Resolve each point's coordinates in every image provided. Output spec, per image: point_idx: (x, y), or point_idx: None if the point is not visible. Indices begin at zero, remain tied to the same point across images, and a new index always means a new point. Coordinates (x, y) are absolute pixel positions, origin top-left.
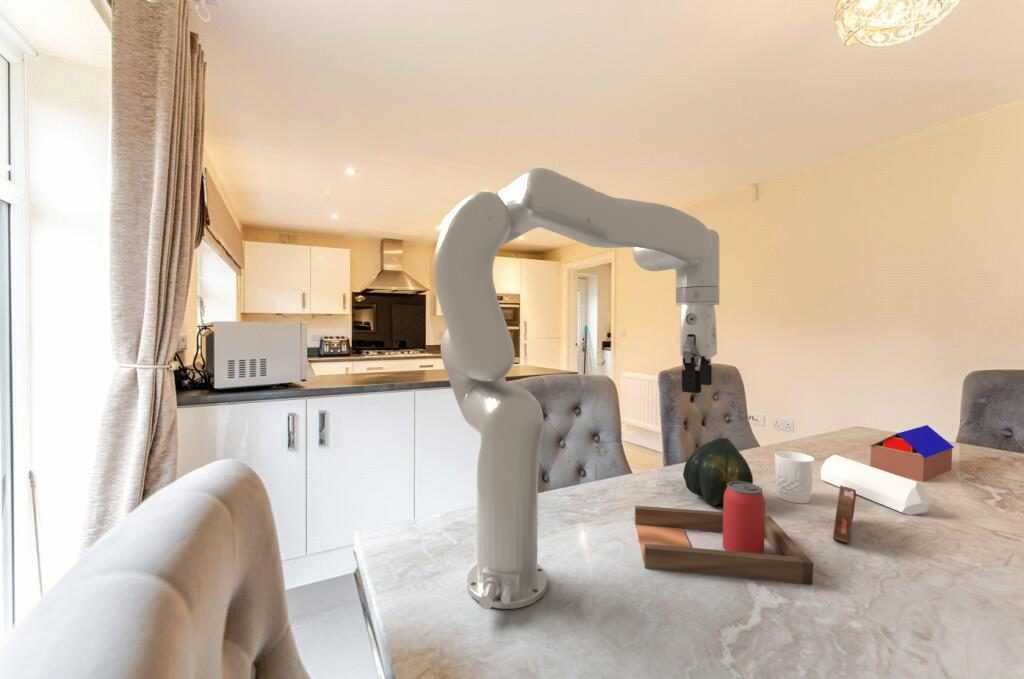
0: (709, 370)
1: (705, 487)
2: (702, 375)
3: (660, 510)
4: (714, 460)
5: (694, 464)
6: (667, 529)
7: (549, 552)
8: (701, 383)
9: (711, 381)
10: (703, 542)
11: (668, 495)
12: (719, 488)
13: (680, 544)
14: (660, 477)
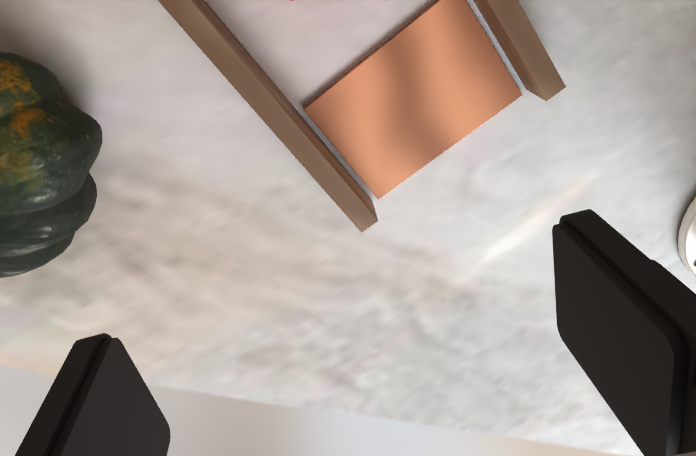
0: (68, 454)
1: (95, 153)
2: (121, 451)
3: (336, 172)
4: (11, 174)
5: (57, 229)
6: (340, 134)
7: None
8: (145, 393)
9: (72, 353)
10: (323, 37)
11: (126, 244)
12: (68, 113)
13: (392, 70)
14: (25, 325)
